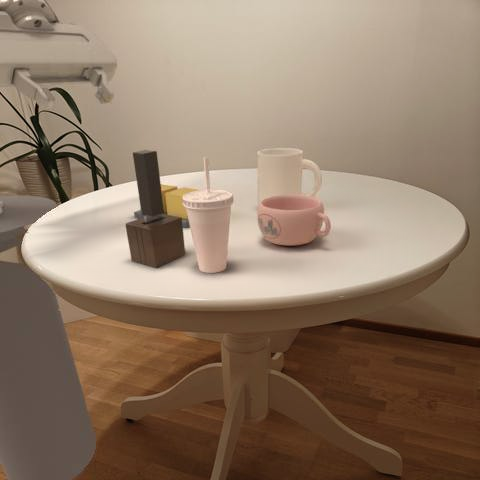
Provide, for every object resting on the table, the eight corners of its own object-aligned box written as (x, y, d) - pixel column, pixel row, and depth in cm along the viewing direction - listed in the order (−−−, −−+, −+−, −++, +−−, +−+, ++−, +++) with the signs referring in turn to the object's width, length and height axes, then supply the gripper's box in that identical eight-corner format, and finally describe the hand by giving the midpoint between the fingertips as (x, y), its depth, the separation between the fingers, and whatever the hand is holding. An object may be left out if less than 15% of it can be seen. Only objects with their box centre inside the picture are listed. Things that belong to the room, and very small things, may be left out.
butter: (142, 210, 79) (139, 189, 77) (161, 204, 83) (159, 183, 81) (187, 219, 74) (185, 196, 72) (205, 212, 77) (204, 190, 75)
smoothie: (237, 258, 60) (233, 153, 53) (234, 276, 54) (230, 162, 47) (192, 258, 60) (183, 154, 53) (185, 277, 54) (173, 163, 48)
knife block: (131, 261, 60) (124, 223, 57) (161, 248, 64) (156, 212, 61) (156, 268, 57) (150, 229, 55) (185, 254, 62) (181, 217, 59)
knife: (145, 259, 60) (129, 152, 53) (160, 253, 62) (147, 149, 55) (156, 262, 59) (141, 154, 52) (171, 255, 61) (159, 150, 54)
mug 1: (322, 204, 83) (326, 148, 78) (317, 216, 76) (320, 155, 71) (263, 201, 86) (263, 147, 81) (253, 212, 79) (252, 154, 74)
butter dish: (134, 217, 79) (133, 212, 79) (164, 207, 85) (163, 202, 84) (186, 228, 73) (185, 222, 72) (214, 216, 78) (214, 211, 78)
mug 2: (244, 242, 65) (243, 204, 62) (283, 226, 72) (283, 191, 69) (309, 260, 58) (311, 218, 55) (345, 241, 64) (349, 202, 62)
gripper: (78, 44, 66) (130, 114, 66) (-62, 40, 52) (4, 128, 52) (89, 6, 62) (146, 80, 62) (-60, -11, 48) (13, 85, 47)
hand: (80, 102), depth 57 cm, fingers open, 8 cm apart
